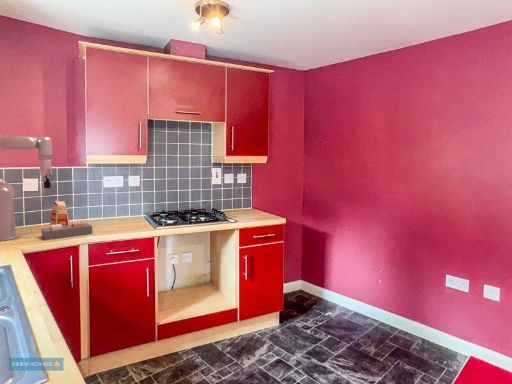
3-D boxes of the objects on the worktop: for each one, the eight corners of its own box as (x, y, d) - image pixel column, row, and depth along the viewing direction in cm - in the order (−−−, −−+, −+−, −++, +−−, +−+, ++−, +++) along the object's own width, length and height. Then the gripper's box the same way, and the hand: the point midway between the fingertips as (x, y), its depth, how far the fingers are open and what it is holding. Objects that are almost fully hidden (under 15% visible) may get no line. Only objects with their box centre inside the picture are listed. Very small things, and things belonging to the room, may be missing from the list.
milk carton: (57, 232, 237) (55, 201, 234) (49, 230, 241) (47, 200, 239) (71, 229, 244) (69, 199, 242) (63, 227, 249) (61, 198, 247)
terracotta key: (71, 230, 233) (71, 222, 232) (81, 229, 237) (81, 221, 236) (74, 232, 229) (73, 224, 228) (84, 230, 232) (83, 223, 232)
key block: (41, 236, 225) (41, 228, 224) (87, 230, 242) (86, 223, 241) (45, 240, 217) (45, 231, 216) (92, 233, 233) (92, 225, 233)
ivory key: (50, 233, 225) (50, 225, 225) (60, 232, 229) (60, 224, 228) (52, 235, 221) (52, 226, 220) (62, 233, 225) (62, 225, 224)
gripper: (36, 157, 227) (37, 187, 230) (41, 158, 216) (43, 189, 218) (49, 157, 232) (51, 186, 235) (55, 158, 221) (57, 188, 223)
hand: (47, 187), depth 226 cm, fingers closed
